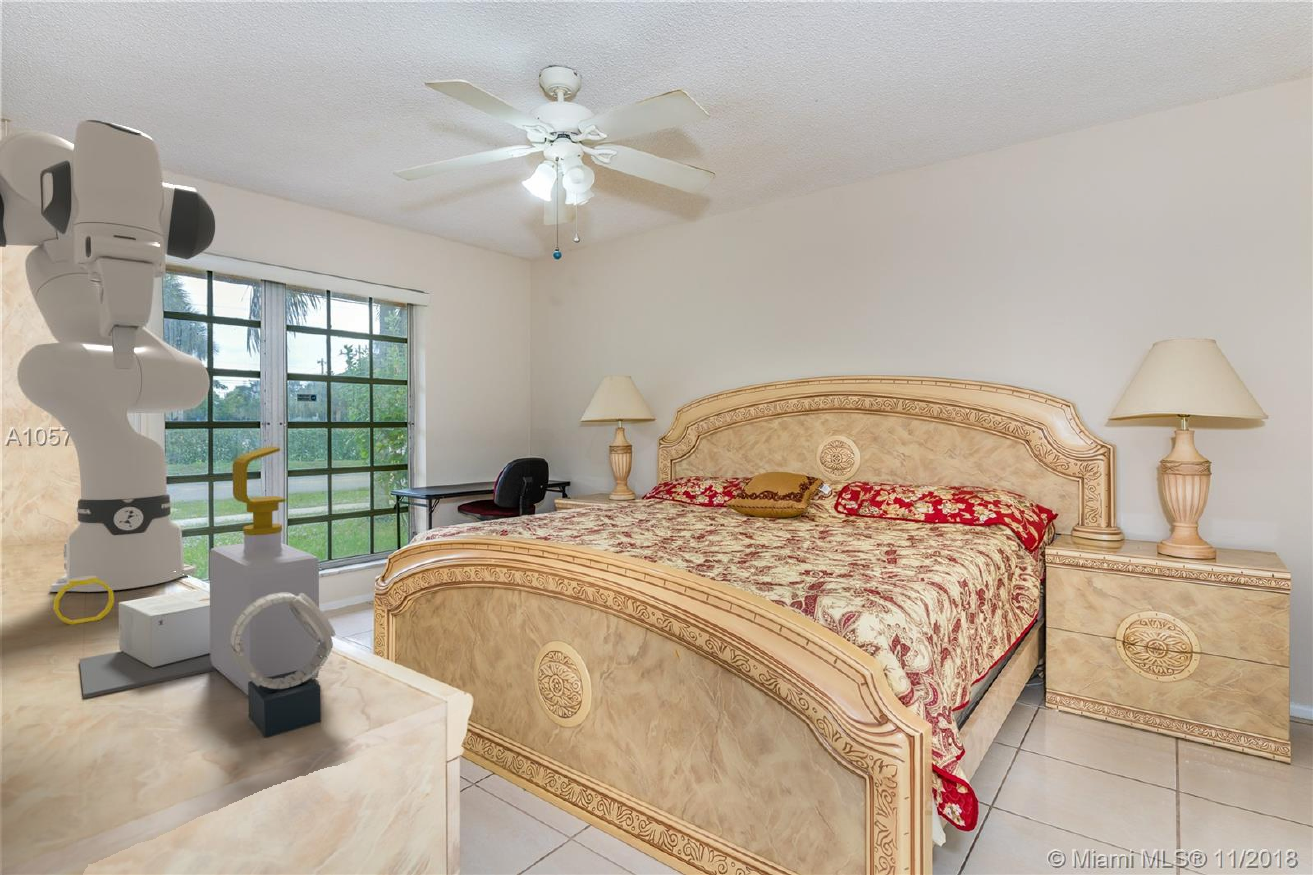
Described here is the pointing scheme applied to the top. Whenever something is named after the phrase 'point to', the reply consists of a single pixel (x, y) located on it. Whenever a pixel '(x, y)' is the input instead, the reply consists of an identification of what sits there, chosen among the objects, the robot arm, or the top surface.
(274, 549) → the soap bottle
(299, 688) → the watch
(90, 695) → the mat
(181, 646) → the small box
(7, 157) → the robot arm
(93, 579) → the watch
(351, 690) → the top surface
